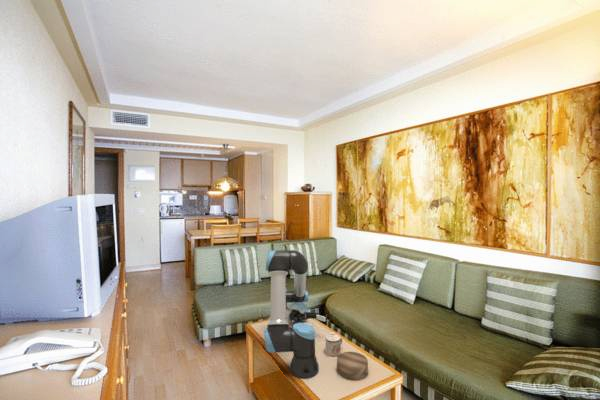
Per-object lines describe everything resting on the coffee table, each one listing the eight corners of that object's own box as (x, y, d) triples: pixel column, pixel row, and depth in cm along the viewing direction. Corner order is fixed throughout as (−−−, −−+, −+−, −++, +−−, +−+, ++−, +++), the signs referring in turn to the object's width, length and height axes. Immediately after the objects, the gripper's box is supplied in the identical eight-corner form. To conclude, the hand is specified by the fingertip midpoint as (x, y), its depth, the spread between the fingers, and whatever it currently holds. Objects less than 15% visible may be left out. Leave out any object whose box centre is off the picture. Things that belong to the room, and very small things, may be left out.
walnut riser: (359, 384, 140) (359, 372, 140) (331, 373, 150) (331, 361, 150) (372, 369, 153) (372, 357, 153) (346, 359, 163) (345, 348, 163)
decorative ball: (312, 322, 212) (312, 301, 212) (299, 329, 201) (298, 307, 201) (297, 316, 222) (297, 297, 222) (283, 323, 211) (283, 303, 210)
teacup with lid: (333, 358, 163) (332, 338, 163) (322, 352, 170) (322, 332, 170) (347, 351, 171) (347, 331, 171) (336, 345, 178) (336, 326, 178)
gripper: (303, 314, 201) (329, 322, 188) (280, 327, 181) (307, 337, 168) (303, 303, 201) (329, 310, 188) (280, 315, 181) (307, 324, 168)
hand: (319, 323), depth 178 cm, fingers open, 13 cm apart
